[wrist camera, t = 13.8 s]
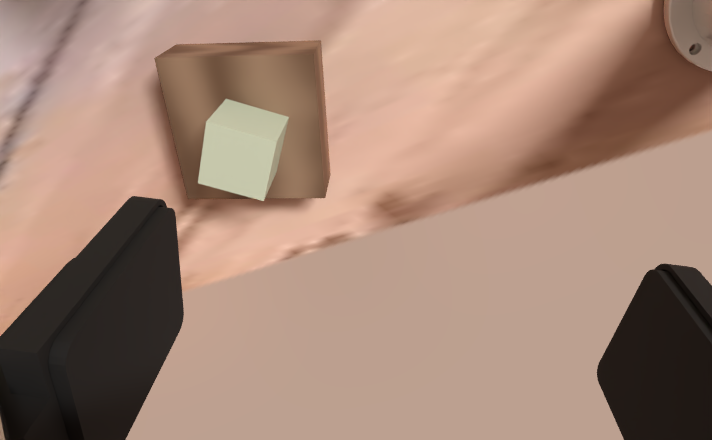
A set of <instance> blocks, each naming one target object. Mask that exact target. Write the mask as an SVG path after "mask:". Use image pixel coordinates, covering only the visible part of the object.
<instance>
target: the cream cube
mask: <svg viewBox="0 0 712 440" xmlns="http://www.w3.org/2000/svg"><path fill="white" fill-rule="evenodd" d="M288 119H289V117H287V116H284V115H280V114H277V113H273V112H270V111H266V110H263V109H260V108H256V107H253V106H249V105H246V104H243V103H239V102H236V101H232V100H229V99H225V101H224V102H223V103H222V104H221V105H220V106H219V107H218V109H217V110H216V111H215V112H214V113H213V114H212V115H211V117H210V118H209V119H208V120H207V121H206V126H205V134H204V141H203V148H202V156H201V163H200V170H199V178H198V183H199V184H203V185H206V186H210V187H214V188H217V189H221V190H224V191H228V192H232V193H235V194H239V195H243V196H246V197H250V198H254V199H257V200H261V201H264V200H265V197H266V195H267V193H268V190H269V188H270V186H271V184H272V181H273V179H274V177H275V174H276V172H277V168H278V163H279V159H280V154H281V150H282V146H283V141H284V137H285V132H286V128H287V124H288Z"/></svg>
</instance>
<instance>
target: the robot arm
mask: <svg viewBox="0 0 712 440" xmlns="http://www.w3.org/2000/svg"><path fill="white" fill-rule="evenodd" d="M664 21H665V28H666V31H667V33H668V36H669V39H670V41H671V43H672V44H673V46H674V47H675V49H676V50H677V52H678V53H679V54H680V55H682V56H683V57H684V58H685V59H686V60H687V61H689V62H691V63H693V64H694V65H696V66H698V67H700V68H703V69H706V70H708V71H711V72H712V0H664ZM691 46H692V47H691ZM690 47H691V49H689V48H690ZM183 313H184V312H183V299H182V287H181V275H180V264H179V252H178V240H177V228H176V216H175V212H174V210H173V209H172V208H167V206H166V203H165V201H163V200H161V199H153V198H145V197H137V196H132V197H131V198H129V199H128V200H127V202H126V203H125V204H124V205H123V206H122V207H121V208H120V209H119V210H118V211H117V213H116V214H115V215H114V216H113V217H112V218H111V219H110V220H109V221H108V223H107V224H106V225H105V226H104V227H103V228H102V229H101V230H100V231H99V232H98V234H97V235H96V236H95V237H94V238H93V239H92V240H91V241H90V242H89V243H88V245H87V246H86V247H85V248H84V249H83V250H82V251H81V252H80V253H79V255H78V256H77V257H76V258H73V259H72V260H71V261H70V262H68V263H67V264H66V265H65V266H64V267H63V269H62V270H61V271H60V272H59V273H58V274H57V275H56V276H55V277H54V278H53V280H52V281H51V282H50V283H49V284H48V285H47V286H46V287H45V288H44V289H43V290H42V292H41V293H40V294H39V295H38V296H37V297H36V298H35V299H34V300H33V301H32V302H31V304H30V305H29V306H28V307H27V308H26V309H25V310H24V311H23V312H22V313H21V314H20V316H19V317H18V318H17V319H16V320H15V321H14V322H13V323H12V324H11V325H10V327H9V328H8V329H7V330H6V331H5V332H4V333H3V334H2V335H1V336H0V440H125V439H126V437H127V435H128V433H129V431H130V429H131V427H132V425H133V423H134V421H135V419H136V417H137V415H138V413H139V411H140V409H141V407H142V405H143V403H144V401H145V399H146V397H147V395H148V393H149V391H150V389H151V387H152V385H153V383H154V381H155V379H156V377H157V375H158V373H159V371H160V369H161V367H162V365H163V363H164V361H165V359H166V357H167V355H168V353H169V351H170V349H171V347H172V345H173V343H174V341H175V339H176V337H177V335H178V333H179V331H180V329H181V326H182V322H183V315H184V314H183ZM597 377H598V381H599V384H600V386H601V389H602V391H603V393H604V395H605V397H606V400H607V402H608V404H609V407H610V409H611V411H612V413H613V416H614V418H615V420H616V422H617V425H618V427H619V429H620V431H621V434H622V436H623V438H624V440H712V286H711V285H710V283H709V282H708V281H707V280H706V279H705V277H703V276H702V274H701V273H700V272H699V271H698V270H697V269H696V268H693V267H687V266H679V265H671V264H660V265H659V266H657V267H656V268H655V270H650V271H648V272H647V273H646V275H645V276H644V278H643V280H642V282H641V284H640V286H639V288H638V290H637V291H636V293H635V295H634V297H633V299H632V301H631V303H630V305H629V307H628V309H627V311H626V313H625V315H624V316H623V318H622V320H621V322H620V324H619V326H618V328H617V330H616V332H615V334H614V336H613V338H612V340H611V342H610V343H609V345H608V347H607V349H606V351H605V353H604V355H603V357H602V358H601V360H600V362H599V365H598V369H597Z"/></svg>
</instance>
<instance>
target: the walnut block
mask: <svg viewBox="0 0 712 440" xmlns="http://www.w3.org/2000/svg"><path fill="white" fill-rule="evenodd" d="M155 63H156V67H157V71H158V75H159V79H160V84H161V88H162V92H163V96H164V100H165V104H166V109H167V113H168V117H169V121H170V125H171V130H172V134H173V138H174V142H175V146H176V151H177V155H178V159H179V163H180V167H181V172H182V176H183V180H184V184H185V188H186V193H187V197H188V199H254V198H250V197H246V196H243V195H239V194H235V193H232V192H228V191H224V190H221V189H217V188H214V187H210V186H206V185H203V184H199V183H198V178H199V170H200V163H201V156H202V148H203V141H204V134H205V126H206V121H207V120H208V119H209V118H210V117H211V115H212V114H213V113H214V112H215V111H216V110H217V109H218V107H219V106H220V105H221V104H222V103H223V102H224V101H225V99H229V100H232V101H236V102H239V103H243V104H246V105H249V106H253V107H256V108H260V109H263V110H266V111H270V112H273V113H277V114H280V115H284V116H287V117H289V119H288V124H287V128H286V132H285V137H284V141H283V146H282V150H281V154H280V159H279V163H278V168H277V172H276V174H275V177H274V179H273V181H272V184H271V186H270V188H269V190H268V193H267V195H266V197H265V198H325V196H326V192H327V187H328V183H329V178H330V162H329V148H328V134H327V120H326V106H325V92H324V78H323V64H322V50H321V41H288V42H252V43H216V44H180V45H175V46H173V47H172V48H170V49H169V50H167V51H165V52H164V53H162V54H161V55H159V56H157V57H156V58H155Z"/></svg>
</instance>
